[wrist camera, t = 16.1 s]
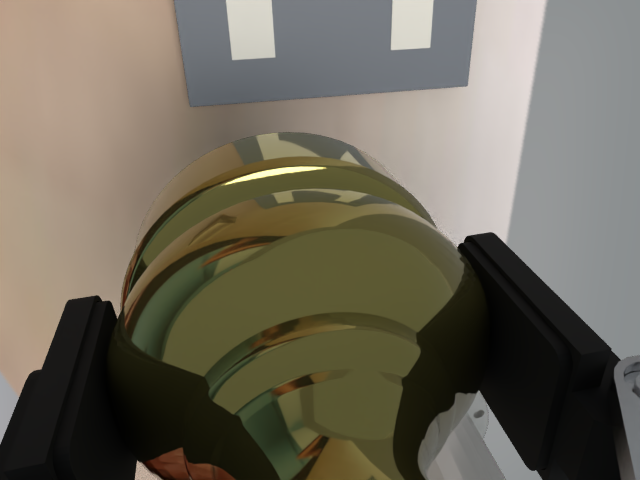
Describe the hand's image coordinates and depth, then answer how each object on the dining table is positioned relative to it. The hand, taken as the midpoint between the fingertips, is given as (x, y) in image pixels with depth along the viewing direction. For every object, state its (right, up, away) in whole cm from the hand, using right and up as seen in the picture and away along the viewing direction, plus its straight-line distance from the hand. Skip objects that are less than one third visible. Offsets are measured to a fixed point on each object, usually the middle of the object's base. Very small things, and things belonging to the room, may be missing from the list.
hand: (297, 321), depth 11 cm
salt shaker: (-1, +1, +2) cm, 3 cm away
